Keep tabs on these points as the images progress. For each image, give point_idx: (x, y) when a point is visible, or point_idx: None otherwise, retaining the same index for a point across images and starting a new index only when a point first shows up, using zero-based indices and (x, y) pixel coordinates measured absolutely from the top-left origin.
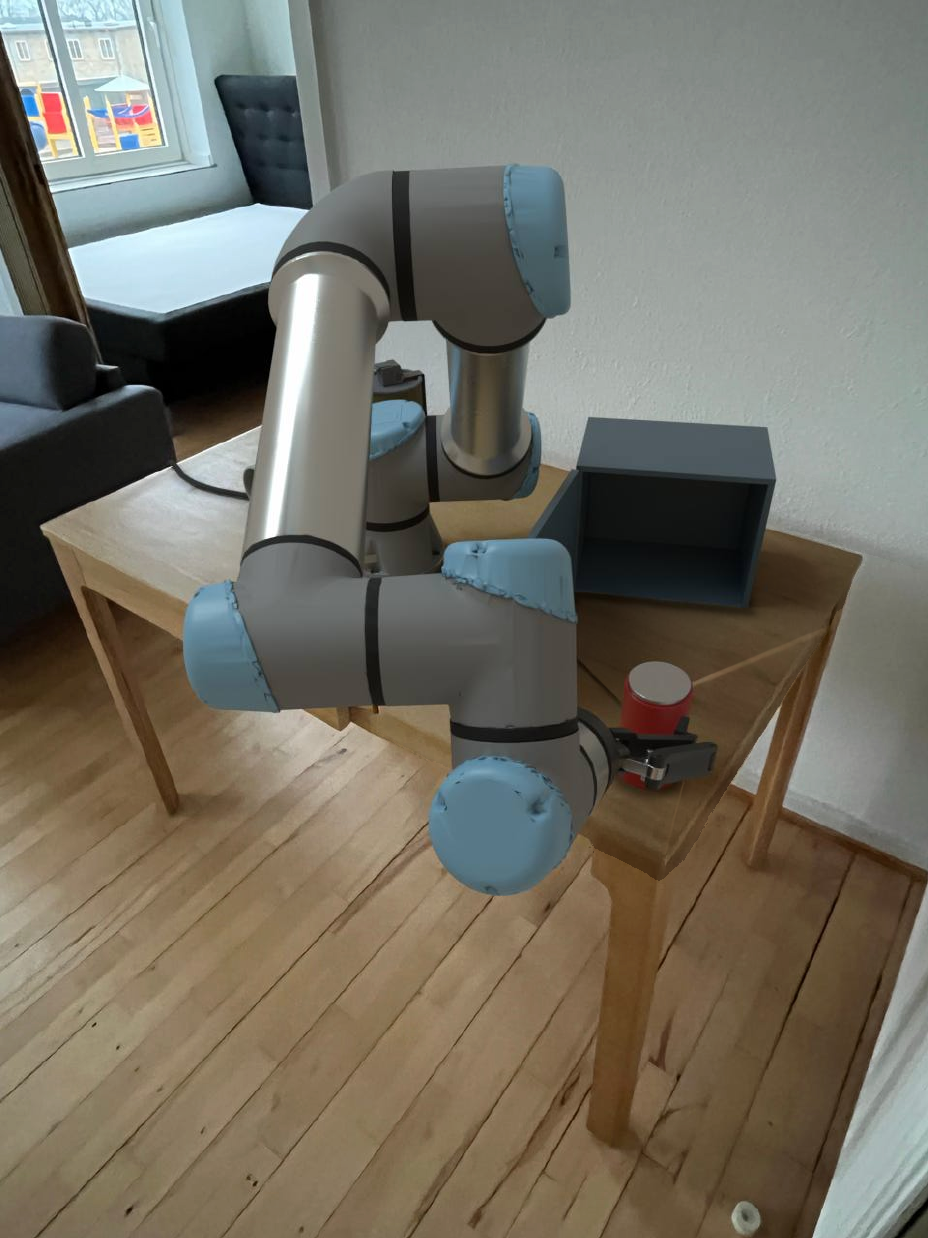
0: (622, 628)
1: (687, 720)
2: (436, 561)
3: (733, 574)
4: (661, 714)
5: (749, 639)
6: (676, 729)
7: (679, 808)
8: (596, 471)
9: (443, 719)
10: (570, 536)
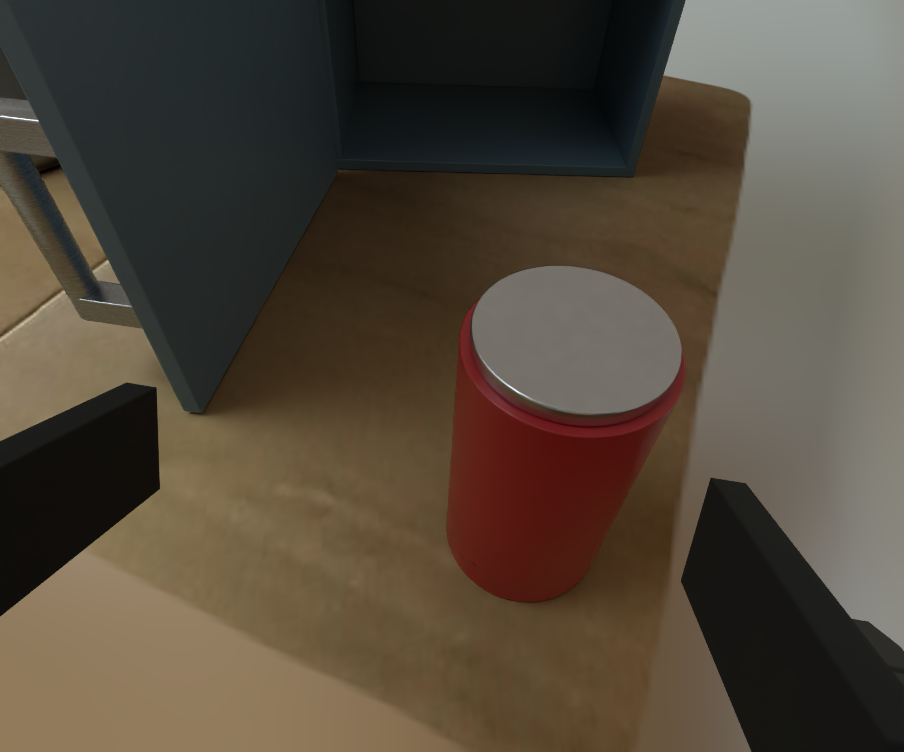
0: (431, 218)
1: (767, 517)
2: None
3: (598, 121)
4: (599, 452)
5: (650, 219)
6: (885, 720)
7: (621, 648)
8: None
9: None
10: (305, 20)
